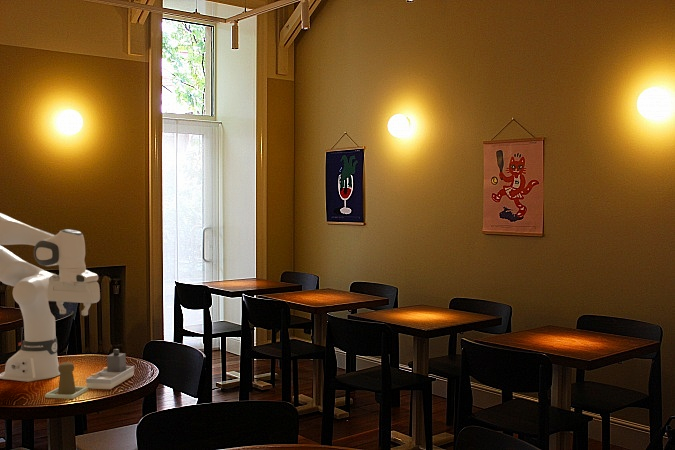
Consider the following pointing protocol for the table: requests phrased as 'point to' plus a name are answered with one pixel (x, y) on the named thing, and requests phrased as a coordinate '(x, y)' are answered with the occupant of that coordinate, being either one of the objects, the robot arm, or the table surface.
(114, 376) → the white low container
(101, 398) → the table surface
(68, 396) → the tray frame
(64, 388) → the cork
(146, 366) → the table surface
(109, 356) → the grey knobbed block
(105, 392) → the table surface
